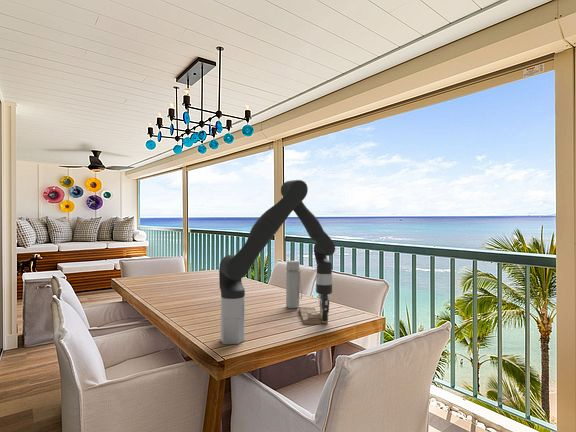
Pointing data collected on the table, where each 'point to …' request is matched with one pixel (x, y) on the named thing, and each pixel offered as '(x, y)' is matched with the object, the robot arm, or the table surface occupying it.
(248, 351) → the table surface
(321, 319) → the gauge
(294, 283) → the water bottle
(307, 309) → the plank
